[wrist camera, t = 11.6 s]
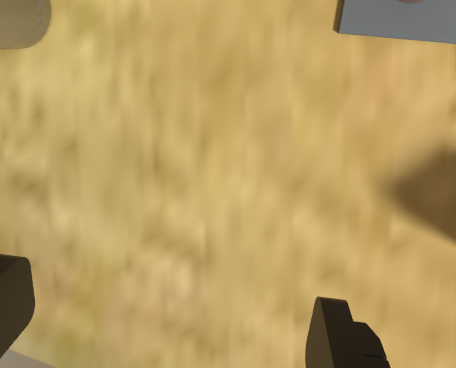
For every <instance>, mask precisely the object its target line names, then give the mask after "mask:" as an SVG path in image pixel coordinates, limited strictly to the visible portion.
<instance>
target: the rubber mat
mask: <svg viewBox="0 0 456 368" xmlns="http://www.w3.org/2000/svg"><path fill="white" fill-rule="evenodd" d="M338 33H342V34H353V35H364V36H375V37H386V38H397V39H408V40H419V41H430V42H441V43H452V44H456V0H427V1H423V2H418V3H413V4H408V3H403V2H400V1H398V0H344V2H343V8H342V13H341V19H340V24H339V30H338Z"/></svg>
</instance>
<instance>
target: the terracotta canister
mask: <svg viewBox="0 0 456 368" xmlns="http://www.w3.org/2000/svg"><path fill="white" fill-rule="evenodd" d="M398 1H400V2H403V3H408V4H413V3H418V2H423V1H427V0H398Z"/></svg>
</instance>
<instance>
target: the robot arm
mask: <svg viewBox="0 0 456 368" xmlns="http://www.w3.org/2000/svg"><path fill="white" fill-rule="evenodd" d="M50 17H51V6H50V0H0V50H3V49H21V48H27V47H30V46H32V45H34V44H35V43H37V42H38V41H39V40H40V39H41V38H42V37H43V36H44V34H45V33H46V30H47V28H48V26H49V22H50ZM34 309H35V297H34V289H33V282H32V274H31V266H30V262H29V260H28V259H27V258H26V257H19V256H11V255H4V254H0V358H1V357H2V356H3V354H4V353H5V352H6V351H7V350H8V348H9V347H10V346H11V345H12V344H13V342H14V341H15V340H16V339H17V337H18V336H19V335H20V334H21V333H22V331H23V330H24V329H25V328H26V327H27V325H28V324H29V322H30V320H31V318H32V316H33V313H34ZM386 358H387V357H386V354H385V352H384V349H383V346H382V344H381V341H380V339H379V338H378V336H377V335H376V334H375V333H374V332H373V331H372V329H371V328H370V327H369V326H368V325H367V324H366V323H362V322H355V321H353V319H352V316H351V312H350V309H349V306H348V303H347V301H346V300H340V299H333V298H325V297H317V298H316V300H315V304H314V309H313V314H312V318H311V323H310V328H309V332H308V337H307V342H306V353H305V362H306V368H391V367H390V365H389V362H388V361H387V360H386Z"/></svg>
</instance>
